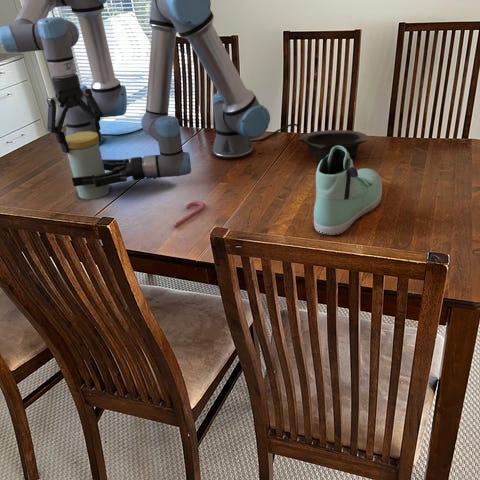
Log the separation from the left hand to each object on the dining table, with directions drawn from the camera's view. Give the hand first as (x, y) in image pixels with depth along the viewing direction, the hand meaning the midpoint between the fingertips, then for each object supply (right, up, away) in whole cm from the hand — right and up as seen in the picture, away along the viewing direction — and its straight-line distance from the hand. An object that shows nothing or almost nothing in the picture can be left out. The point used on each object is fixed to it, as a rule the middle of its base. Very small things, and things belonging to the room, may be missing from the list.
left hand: (82, 146), depth 152 cm
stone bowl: (+84, +1, +21) cm, 86 cm away
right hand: (-4, -9, +5) cm, 10 cm away
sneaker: (+82, -21, -13) cm, 85 cm away
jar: (+1, -14, +9) cm, 16 cm away
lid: (0, +2, -1) cm, 3 cm away
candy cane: (+35, -23, -11) cm, 43 cm away
